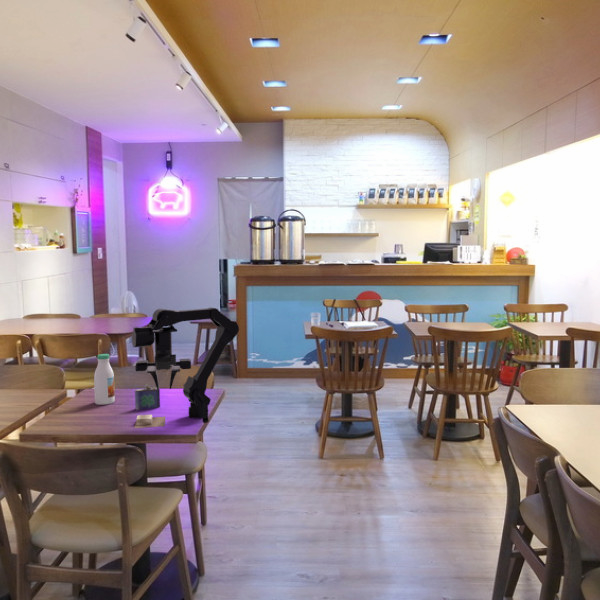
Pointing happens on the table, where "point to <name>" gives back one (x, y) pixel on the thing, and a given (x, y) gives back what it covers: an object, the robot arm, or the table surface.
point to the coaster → (144, 419)
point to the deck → (153, 423)
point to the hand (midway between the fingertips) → (164, 389)
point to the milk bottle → (104, 381)
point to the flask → (147, 398)
